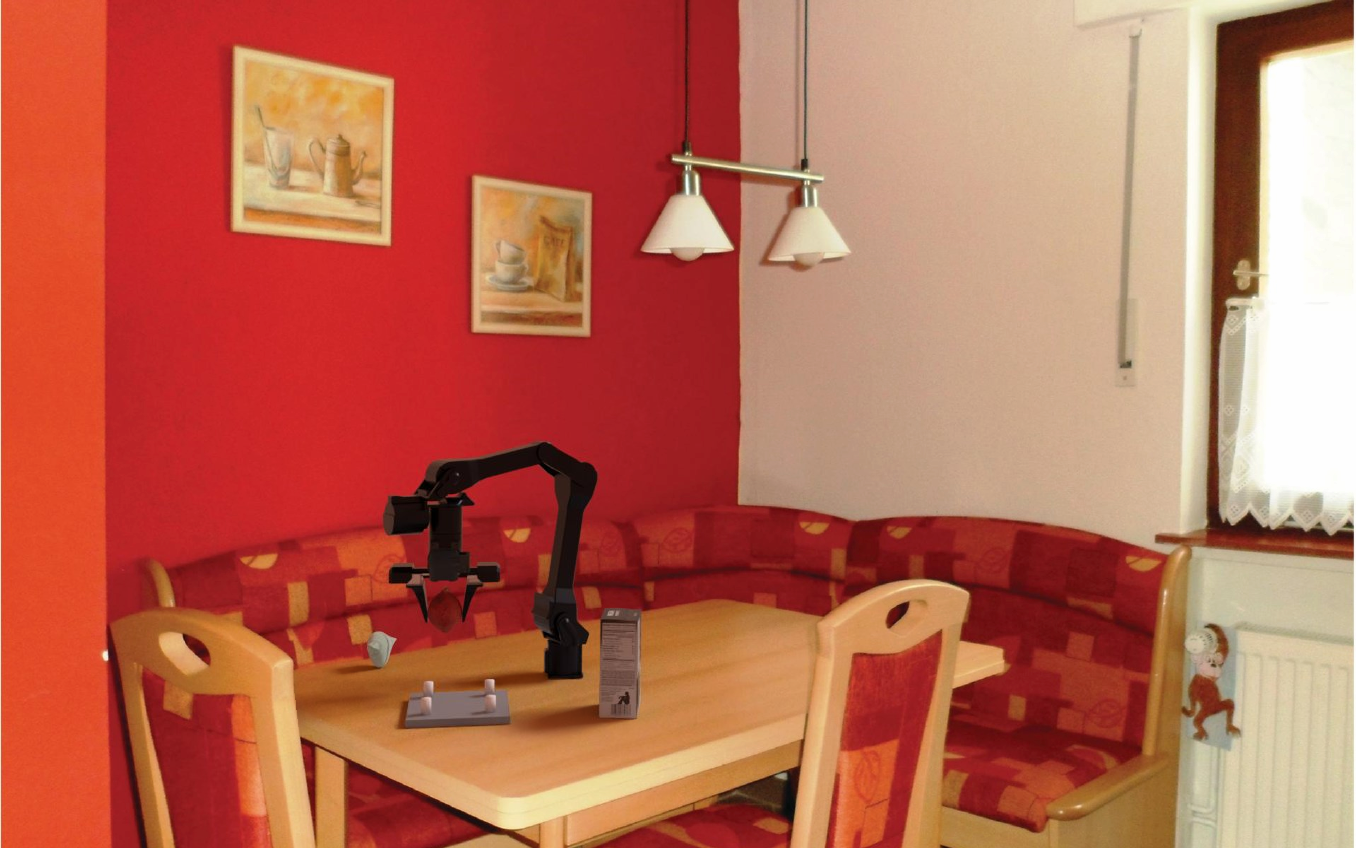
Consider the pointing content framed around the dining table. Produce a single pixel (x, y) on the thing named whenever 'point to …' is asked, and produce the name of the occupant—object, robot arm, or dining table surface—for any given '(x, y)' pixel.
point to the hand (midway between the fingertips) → (445, 622)
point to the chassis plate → (457, 707)
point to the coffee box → (620, 663)
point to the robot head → (379, 648)
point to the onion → (444, 610)
